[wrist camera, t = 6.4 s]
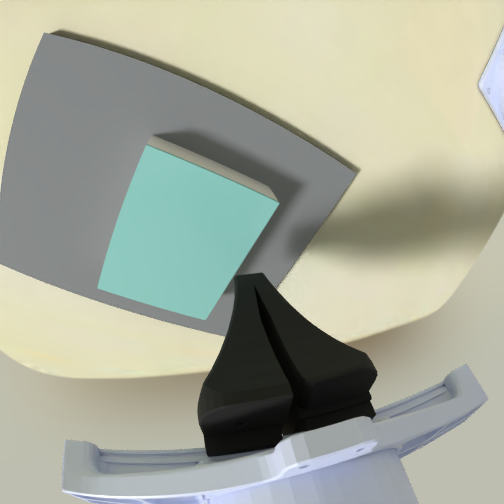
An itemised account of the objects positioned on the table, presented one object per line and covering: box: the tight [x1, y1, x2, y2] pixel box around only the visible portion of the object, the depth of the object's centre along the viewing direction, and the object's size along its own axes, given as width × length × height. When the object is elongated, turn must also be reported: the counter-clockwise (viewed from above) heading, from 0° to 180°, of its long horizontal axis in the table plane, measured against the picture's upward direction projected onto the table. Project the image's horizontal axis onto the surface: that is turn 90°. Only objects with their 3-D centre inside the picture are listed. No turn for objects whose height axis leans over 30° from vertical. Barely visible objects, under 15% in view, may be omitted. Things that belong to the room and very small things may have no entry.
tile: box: [97, 135, 280, 320], centre depth 15 cm, size 2×8×6 cm
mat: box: [0, 33, 356, 337], centre depth 15 cm, size 18×14×1 cm
